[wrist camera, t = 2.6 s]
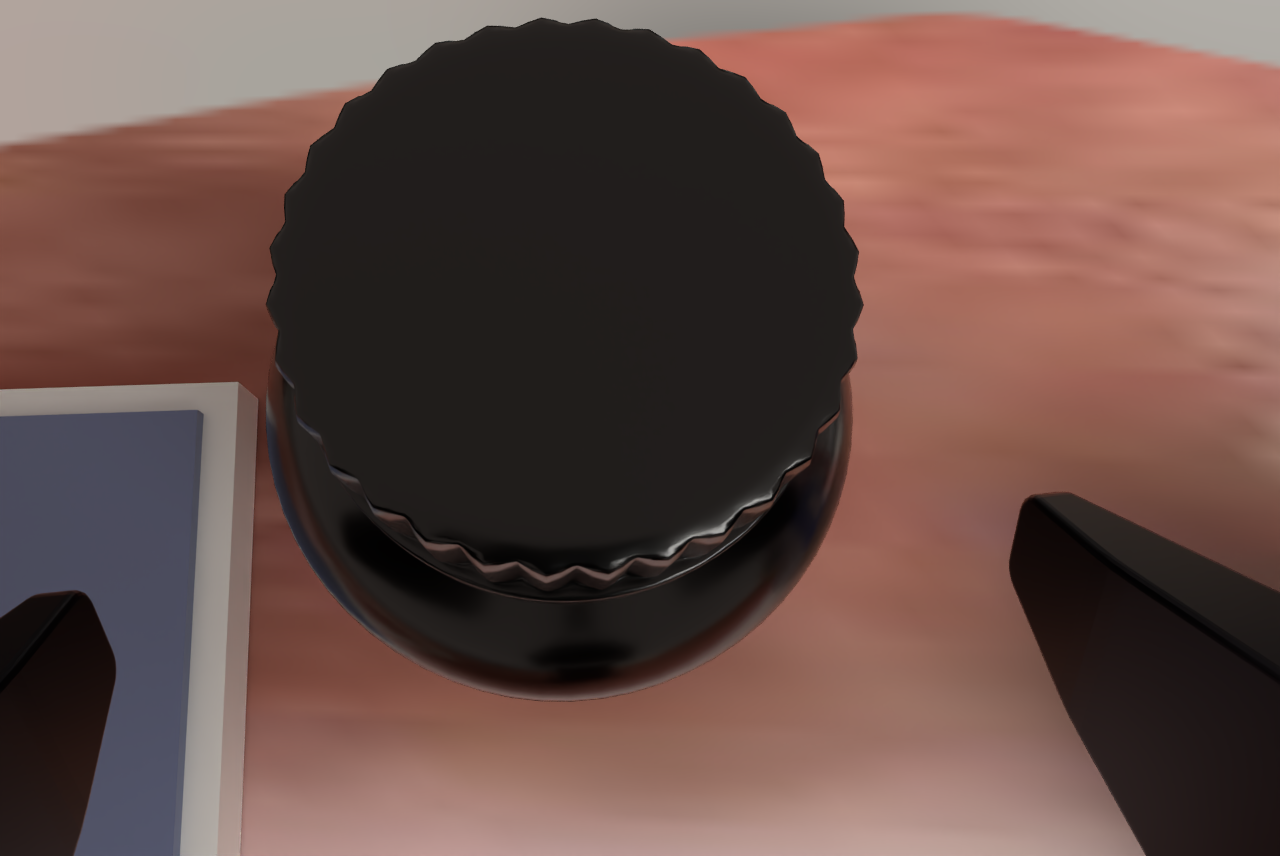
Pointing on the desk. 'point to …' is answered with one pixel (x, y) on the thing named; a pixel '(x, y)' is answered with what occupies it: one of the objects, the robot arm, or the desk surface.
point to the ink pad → (145, 589)
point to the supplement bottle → (561, 359)
